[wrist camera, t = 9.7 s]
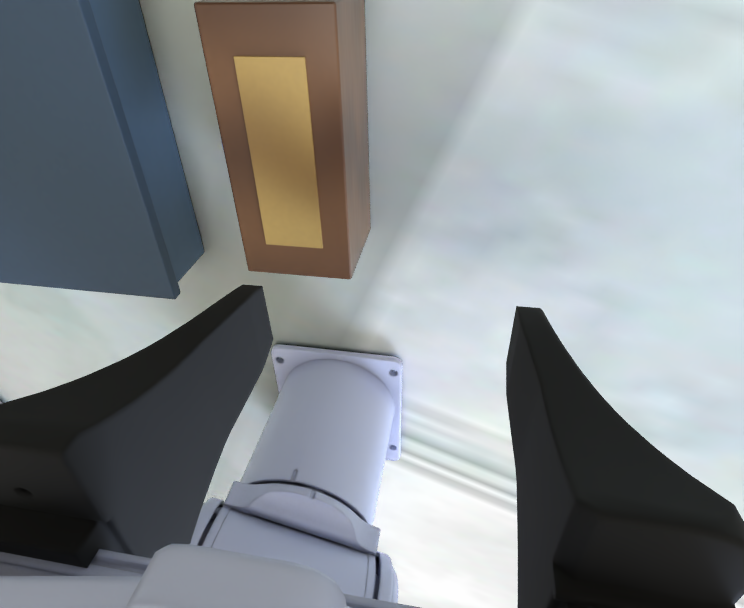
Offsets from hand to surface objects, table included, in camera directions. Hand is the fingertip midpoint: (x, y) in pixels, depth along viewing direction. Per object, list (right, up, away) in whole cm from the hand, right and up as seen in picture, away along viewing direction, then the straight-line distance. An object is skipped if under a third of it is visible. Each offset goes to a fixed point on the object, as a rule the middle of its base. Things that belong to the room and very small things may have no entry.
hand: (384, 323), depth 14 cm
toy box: (-16, +10, +10) cm, 21 cm away
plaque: (-3, +8, +7) cm, 12 cm away
